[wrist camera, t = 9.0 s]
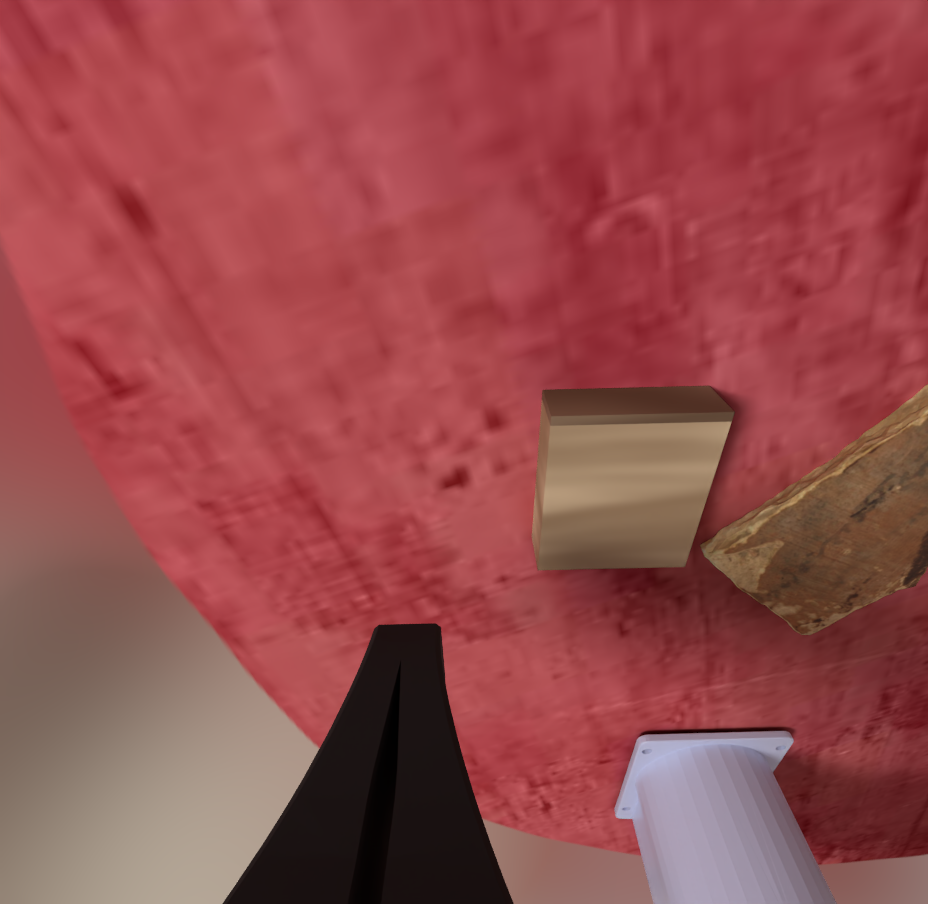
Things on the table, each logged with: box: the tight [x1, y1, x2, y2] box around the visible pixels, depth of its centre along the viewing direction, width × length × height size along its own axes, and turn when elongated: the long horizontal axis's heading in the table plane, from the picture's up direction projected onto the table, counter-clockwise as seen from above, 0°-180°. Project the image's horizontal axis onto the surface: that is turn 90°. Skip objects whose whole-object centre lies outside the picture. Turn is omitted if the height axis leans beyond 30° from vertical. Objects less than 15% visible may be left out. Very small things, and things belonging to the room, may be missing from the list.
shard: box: [700, 384, 928, 635], centre depth 17 cm, size 11×8×2 cm
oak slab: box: [532, 386, 735, 570], centre depth 16 cm, size 2×5×6 cm
